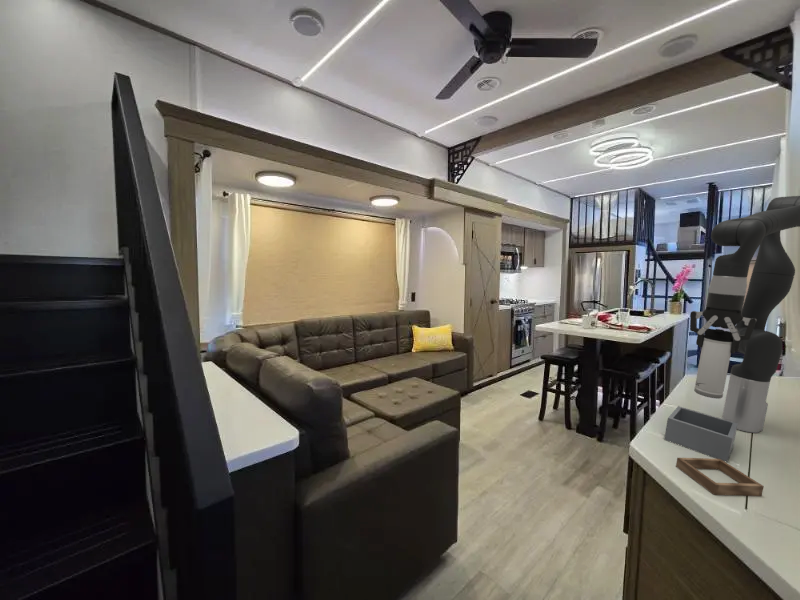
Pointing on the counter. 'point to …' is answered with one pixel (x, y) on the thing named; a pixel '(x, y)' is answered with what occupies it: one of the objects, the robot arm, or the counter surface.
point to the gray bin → (701, 432)
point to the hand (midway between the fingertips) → (716, 349)
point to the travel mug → (714, 363)
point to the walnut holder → (744, 484)
